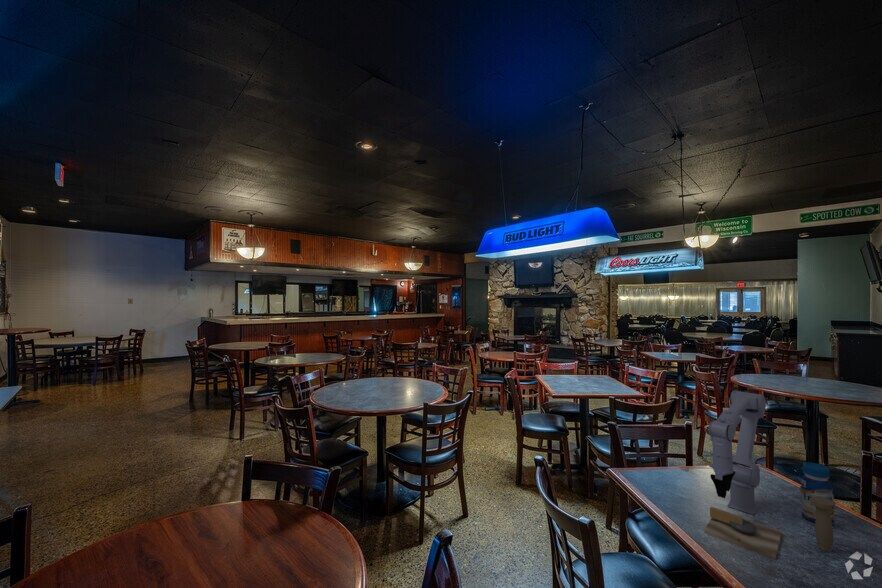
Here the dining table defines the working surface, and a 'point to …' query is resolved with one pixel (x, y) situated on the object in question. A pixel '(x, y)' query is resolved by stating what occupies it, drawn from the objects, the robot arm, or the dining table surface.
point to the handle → (823, 522)
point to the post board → (747, 537)
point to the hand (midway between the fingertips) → (723, 493)
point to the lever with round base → (733, 520)
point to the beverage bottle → (814, 490)
